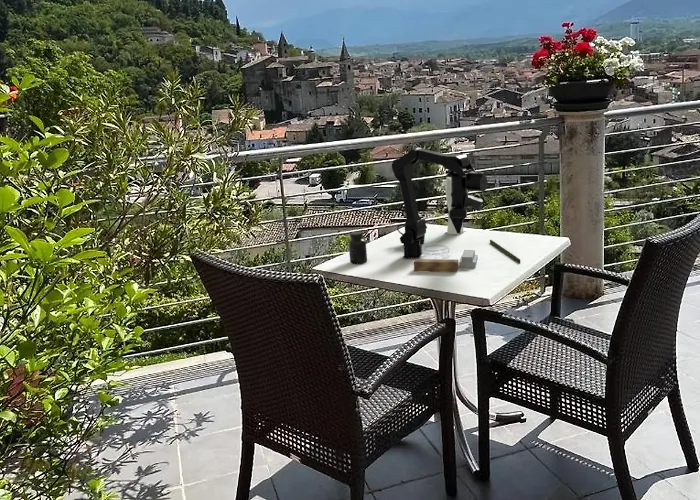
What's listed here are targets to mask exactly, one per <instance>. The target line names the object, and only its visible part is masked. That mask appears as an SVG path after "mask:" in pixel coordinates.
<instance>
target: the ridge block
mask: <svg viewBox="0 0 700 500" xmlns="http://www.w3.org/2000/svg"><path fill="white" fill-rule="evenodd" d="M475 252H476V249H464V250H463V252H462V254H461V255H460V258H459V260H458V268H476V266H477V263H478V260H479V258H478V257H479V256H478V254H476V253H475Z"/></svg>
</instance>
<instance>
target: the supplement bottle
mask: <svg viewBox="0 0 700 500" xmlns="http://www.w3.org/2000/svg"><path fill="white" fill-rule="evenodd" d="M363 234H364V233H363V231H353V232H350V240H348V250H349V252H348V253H349V262H350V263H351V264H352V265H364V264H366V263H367V261H368V253H367V241H366V240H365V238H364V235H363Z"/></svg>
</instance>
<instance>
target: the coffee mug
mask: <svg viewBox="0 0 700 500" xmlns="http://www.w3.org/2000/svg"><path fill="white" fill-rule="evenodd" d="M425 222H426V223H427V220H426V219H425ZM400 226H403V227H405V223H400V224H398V225H397V227H396V229H397V230H396V231H397V232H398V234H401V236H402V235H403V234H404V232H403V233H402V232H401V231H400V230H399V228H400ZM425 236H426V234H425V235H424V236H423V239H422V240H420V244H422V246H424V244H425V239H426V238H425Z"/></svg>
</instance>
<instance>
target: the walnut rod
mask: <svg viewBox="0 0 700 500" xmlns="http://www.w3.org/2000/svg"><path fill="white" fill-rule="evenodd" d="M459 269H460V267H459V259H446V258H445V259H435V258H434V259H431V258H427V259H425V258H424V259H423V258H422V259H421V258H414V260H413V271H414V272H418V271H429V272H431V273H458V272H459ZM429 272H428V273H429Z"/></svg>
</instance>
